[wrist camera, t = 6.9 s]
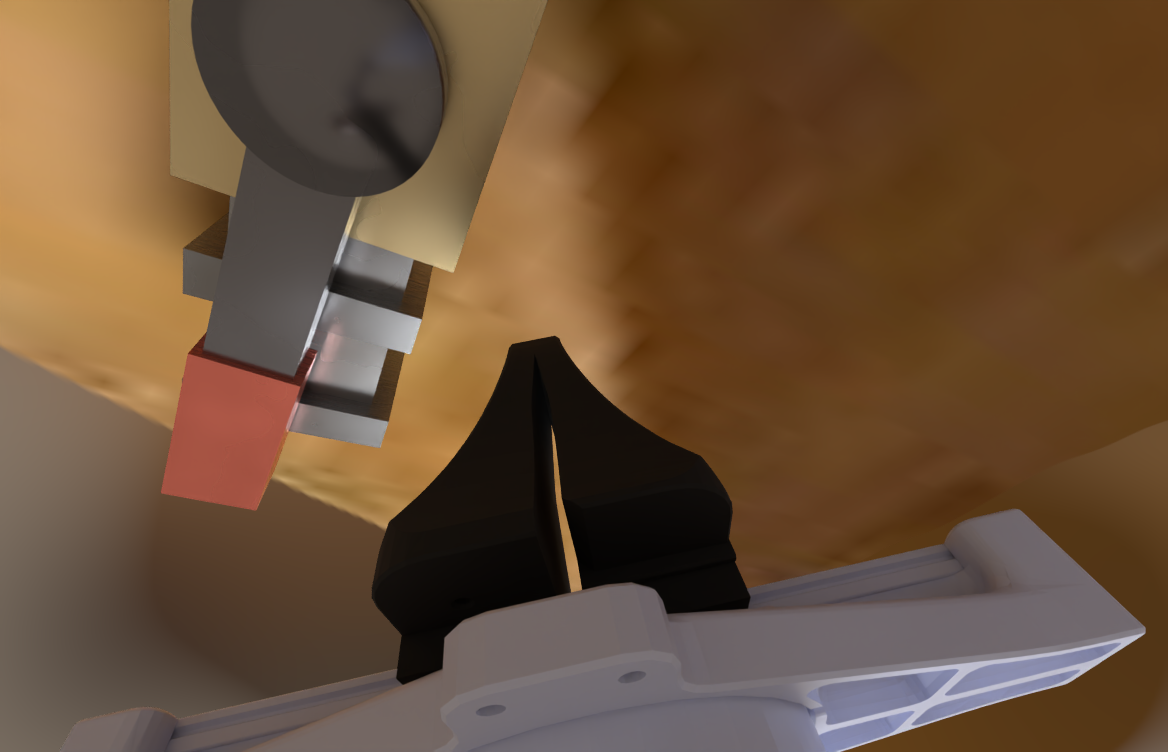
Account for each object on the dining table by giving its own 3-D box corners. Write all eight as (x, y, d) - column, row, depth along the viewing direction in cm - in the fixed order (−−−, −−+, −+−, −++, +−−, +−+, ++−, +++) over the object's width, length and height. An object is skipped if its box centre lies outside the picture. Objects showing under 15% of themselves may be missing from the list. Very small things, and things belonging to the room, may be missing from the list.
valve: (337, -810, 7) (119, -2011, 3) (671, -424, 9) (817, -768, 5) (241, 311, 17) (164, 407, 13) (412, 357, 19) (392, 450, 15)
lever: (264, -117, 7) (212, -147, 6) (478, 35, 9) (477, 39, 7) (163, 438, 13) (126, 488, 12) (302, 469, 15) (283, 516, 14)
